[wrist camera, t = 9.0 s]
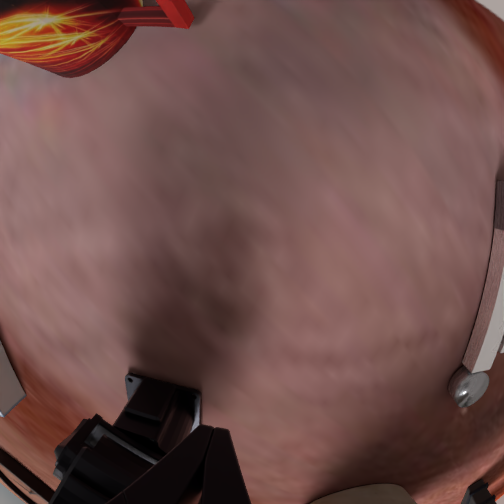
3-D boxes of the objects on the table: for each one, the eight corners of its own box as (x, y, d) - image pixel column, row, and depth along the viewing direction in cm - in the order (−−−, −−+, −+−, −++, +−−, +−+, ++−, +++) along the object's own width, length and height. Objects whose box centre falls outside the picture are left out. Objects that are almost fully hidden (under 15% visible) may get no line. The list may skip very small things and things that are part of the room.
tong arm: (470, 391, 19) (479, 403, 17) (442, 397, 19) (451, 410, 17) (519, 187, 15) (535, 188, 13) (492, 179, 15) (509, 179, 13)
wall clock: (27, 505, 38) (-33, 437, 31) (32, 498, 42) (-26, 430, 35) (101, 543, 34) (28, 480, 28) (105, 534, 38) (37, 468, 32)
